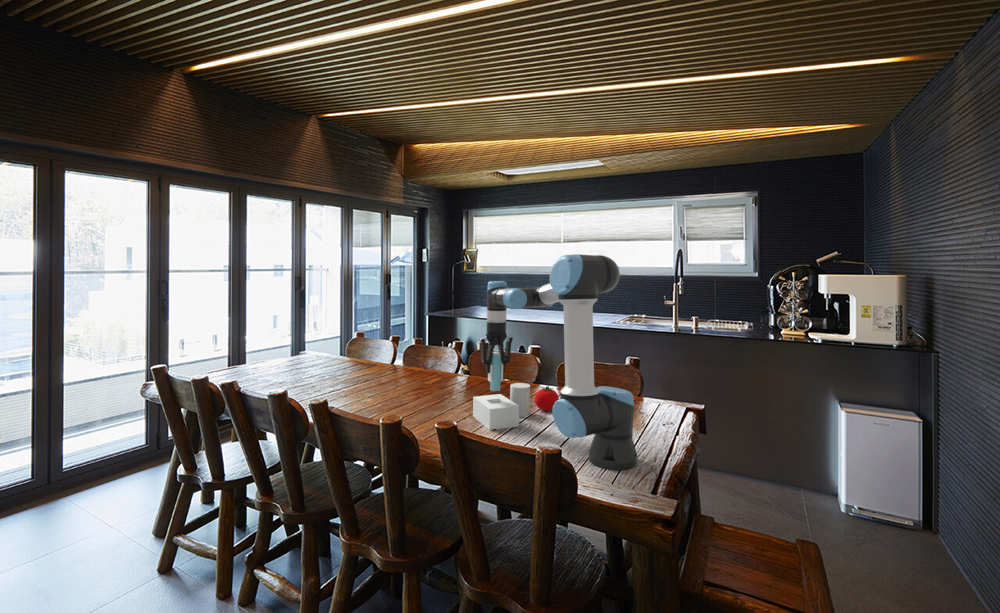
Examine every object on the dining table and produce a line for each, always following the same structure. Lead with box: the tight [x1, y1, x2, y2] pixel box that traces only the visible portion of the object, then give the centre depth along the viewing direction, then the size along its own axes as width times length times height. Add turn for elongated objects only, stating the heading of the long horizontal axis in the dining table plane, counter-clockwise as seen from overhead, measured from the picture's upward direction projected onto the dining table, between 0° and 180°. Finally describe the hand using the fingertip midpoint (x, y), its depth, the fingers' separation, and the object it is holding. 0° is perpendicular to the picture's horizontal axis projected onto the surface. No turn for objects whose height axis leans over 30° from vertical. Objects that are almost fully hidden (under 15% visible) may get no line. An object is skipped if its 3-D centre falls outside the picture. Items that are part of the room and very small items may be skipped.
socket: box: [472, 393, 520, 431], centre depth 192 cm, size 18×12×8 cm, turn 23°
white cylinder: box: [509, 382, 531, 418], centre depth 201 cm, size 8×8×12 cm
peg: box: [489, 351, 501, 392], centre depth 191 cm, size 4×4×15 cm
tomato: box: [534, 385, 560, 412], centre depth 208 cm, size 10×10×10 cm
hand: (495, 380), depth 191 cm, fingers closed on peg, 4 cm apart
